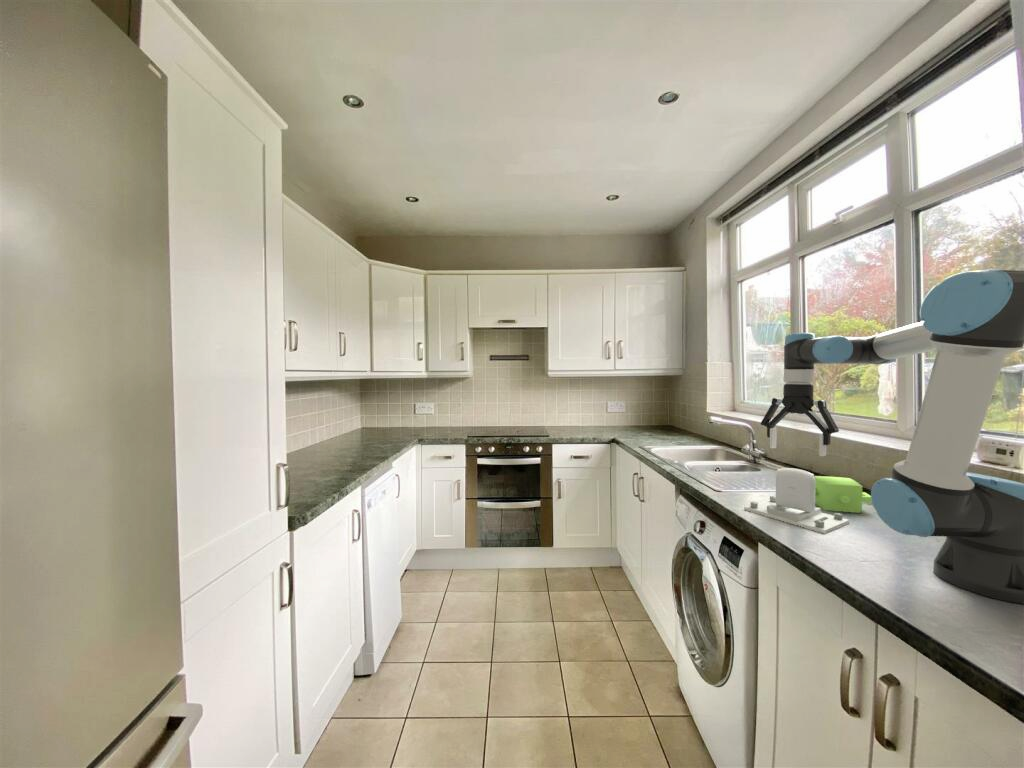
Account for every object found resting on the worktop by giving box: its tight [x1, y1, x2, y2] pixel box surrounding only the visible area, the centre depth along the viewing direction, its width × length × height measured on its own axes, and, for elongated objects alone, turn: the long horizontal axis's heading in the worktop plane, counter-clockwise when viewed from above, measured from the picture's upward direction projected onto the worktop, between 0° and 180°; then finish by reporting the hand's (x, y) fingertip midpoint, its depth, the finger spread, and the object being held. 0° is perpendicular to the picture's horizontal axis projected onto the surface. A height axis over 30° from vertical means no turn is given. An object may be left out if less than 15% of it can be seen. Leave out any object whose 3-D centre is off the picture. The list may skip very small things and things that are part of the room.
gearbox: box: [814, 475, 872, 513], centre depth 130 cm, size 18×10×10 cm, turn 72°
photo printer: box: [775, 467, 816, 513], centre depth 122 cm, size 10×4×12 cm, turn 39°
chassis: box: [743, 496, 850, 535], centre depth 122 cm, size 22×16×2 cm
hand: (796, 451), depth 122 cm, fingers open, 13 cm apart
